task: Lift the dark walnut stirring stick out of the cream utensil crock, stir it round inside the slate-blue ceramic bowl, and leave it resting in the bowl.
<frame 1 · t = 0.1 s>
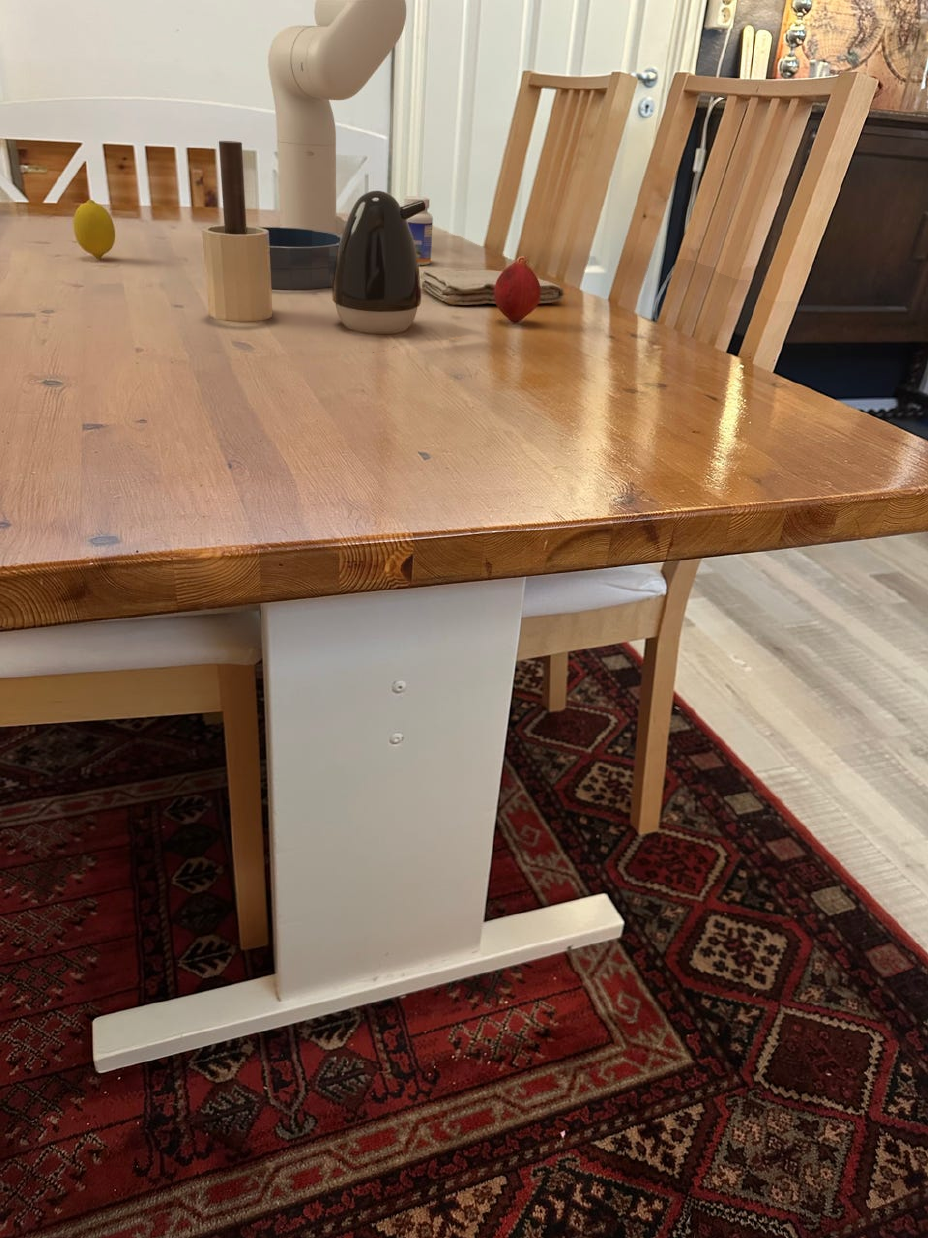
pill bottle: (414, 263, 147), on the table
washcloth: (488, 298, 127), on the table
pump dispenser: (377, 334, 106), on the table
bowl: (284, 282, 127), on the table
crock: (241, 320, 106), on the table
stick: (240, 313, 106), point 1 cm above the table, touching crock
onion: (514, 324, 115), on the table
lemon: (98, 260, 132), on the table
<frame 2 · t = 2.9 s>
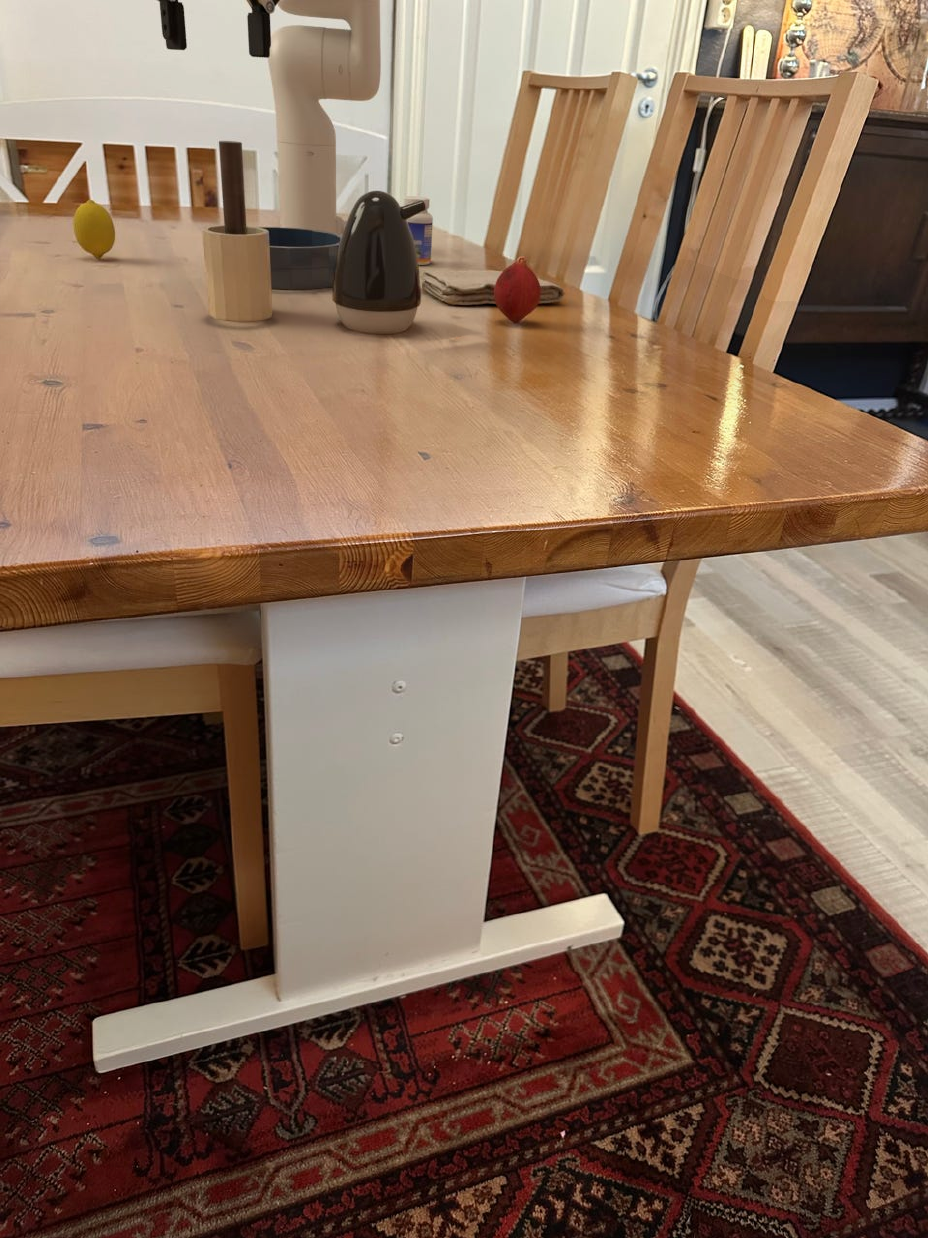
hand: (219, 53, 94), 27 cm above the table, tool pointing down, fingers open, 9 cm apart
nothing on the table moved.
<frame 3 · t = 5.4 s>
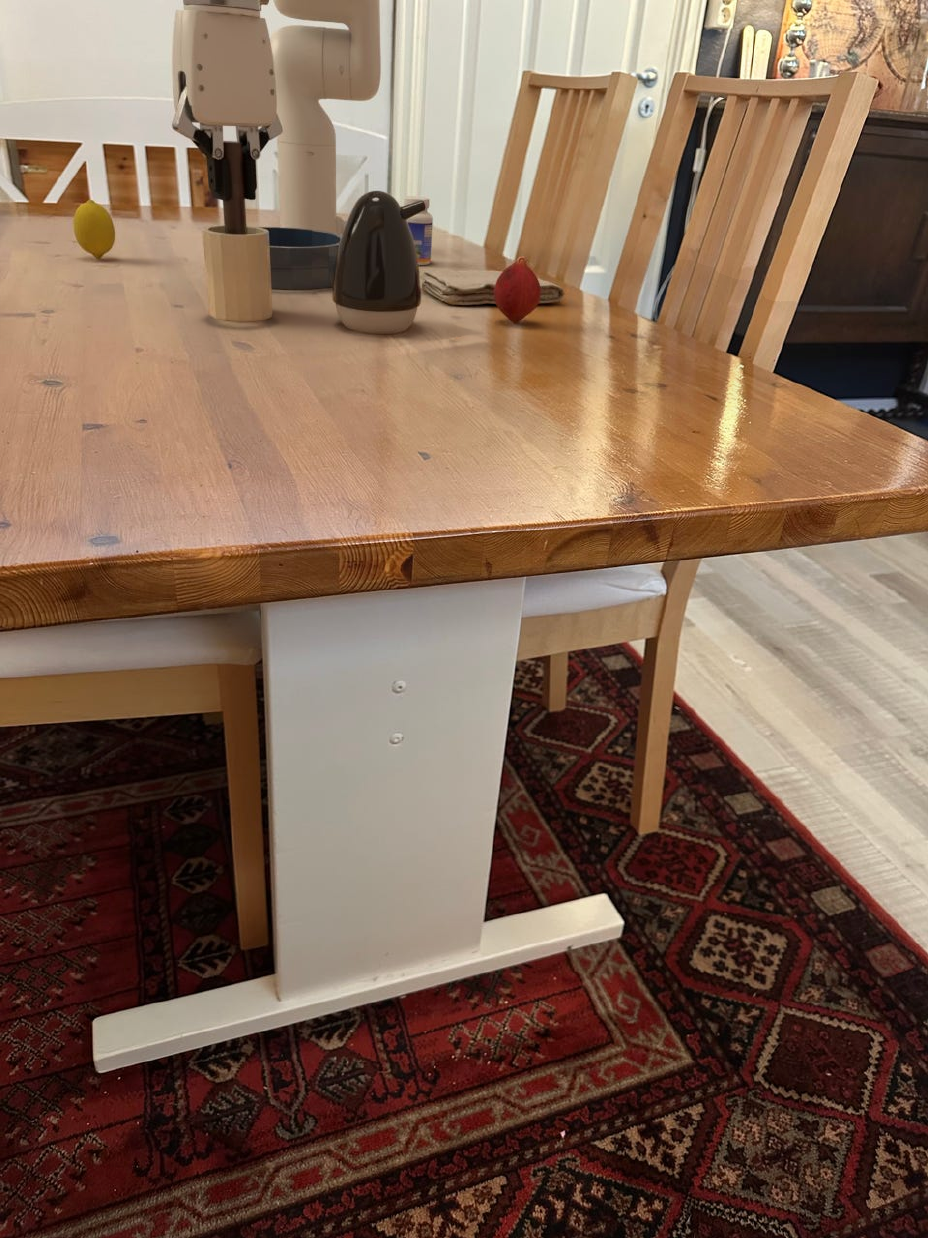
hand: (233, 196, 99), 13 cm above the table, tool pointing down, fingers closed on stick, 2 cm apart
stick: (240, 313, 106), point 1 cm above the table, touching crock, gripper
everything else where it was.
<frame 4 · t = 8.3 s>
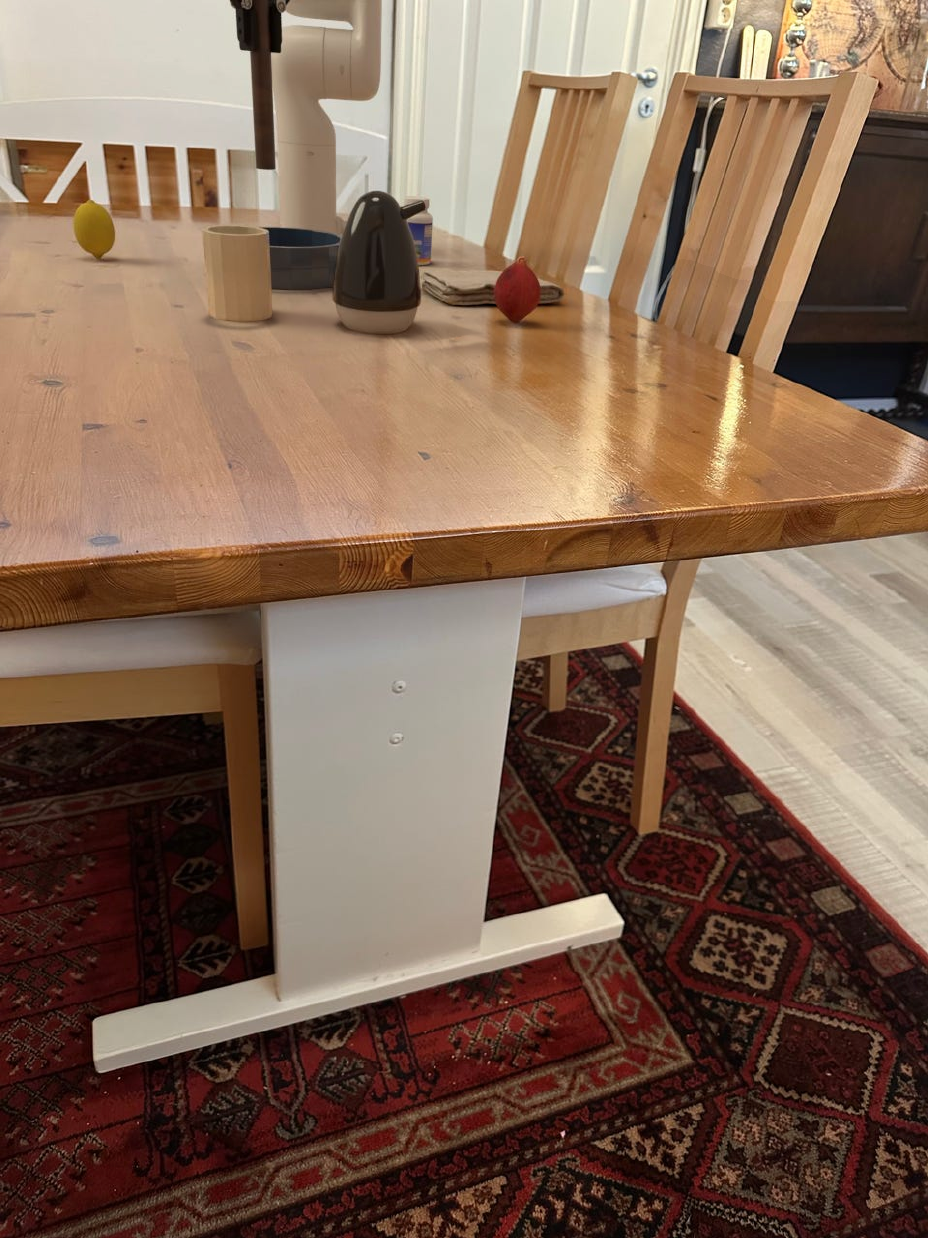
hand: (260, 49, 105), 28 cm above the table, tool pointing down, fingers closed on stick, 2 cm apart
stick: (265, 168, 112), point 15 cm above the table, touching gripper
everything else where it was.
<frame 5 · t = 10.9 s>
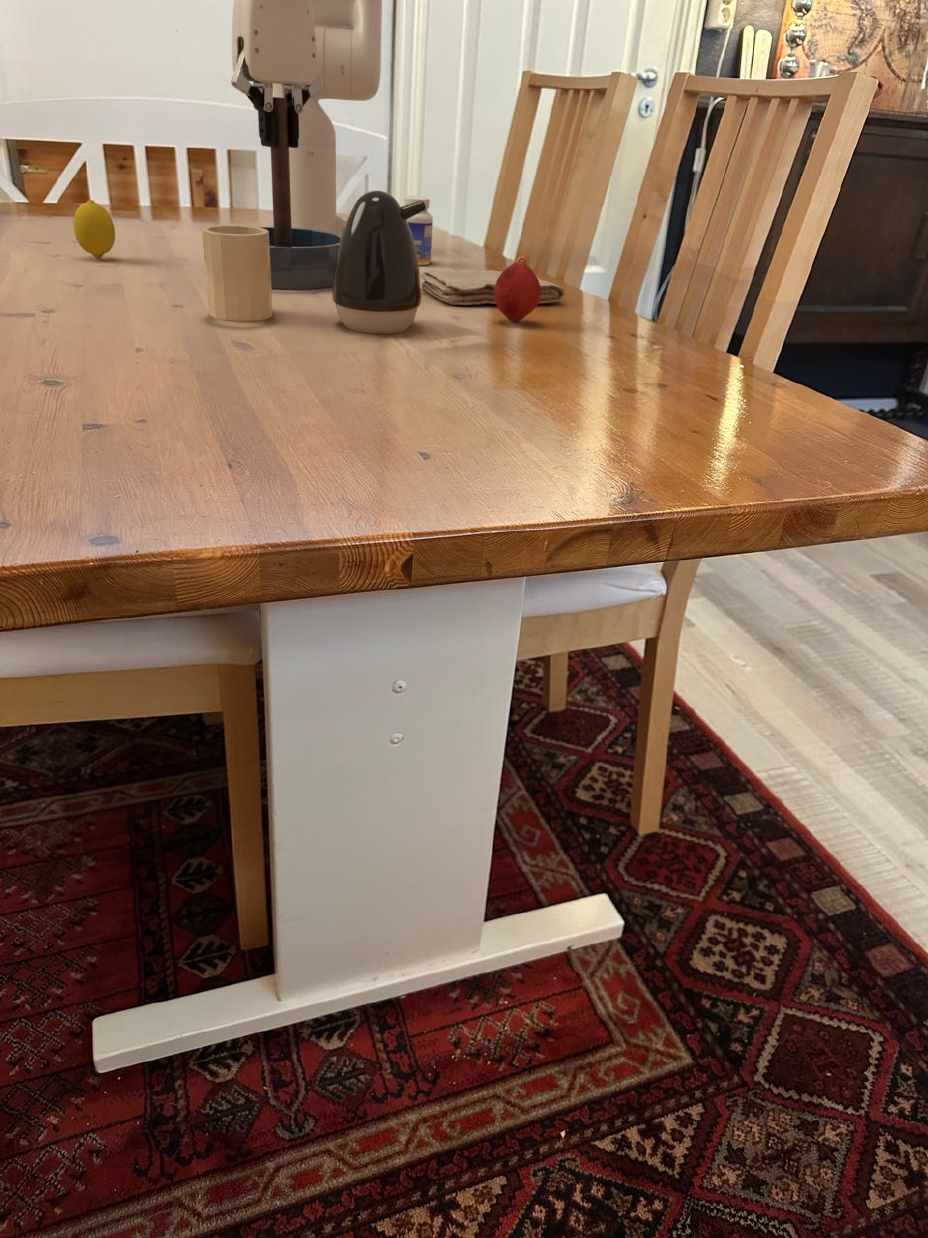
hand: (279, 145, 118), 17 cm above the table, tool pointing down, fingers closed on stick, 2 cm apart
stick: (283, 247, 124), point 5 cm above the table, touching gripper
everything else where it was.
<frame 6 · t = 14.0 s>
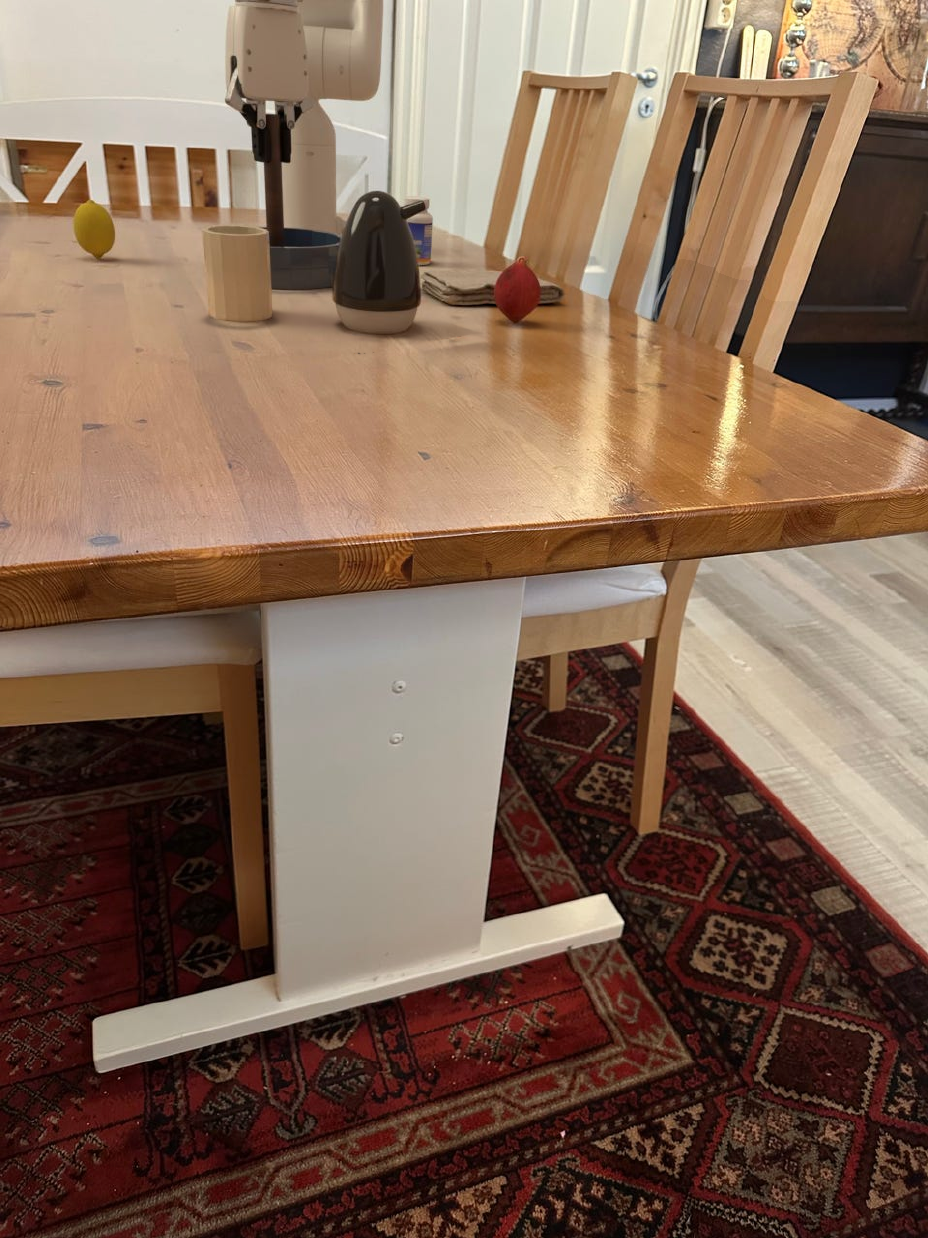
hand: (272, 160, 120), 15 cm above the table, tool pointing down, fingers closed on stick, 2 cm apart
stick: (276, 259, 127), point 3 cm above the table, touching gripper
everything else where it was.
when the fingers open (13 cm above the table, at t = 16.2 s): stick stays where it is, resting on bowl.
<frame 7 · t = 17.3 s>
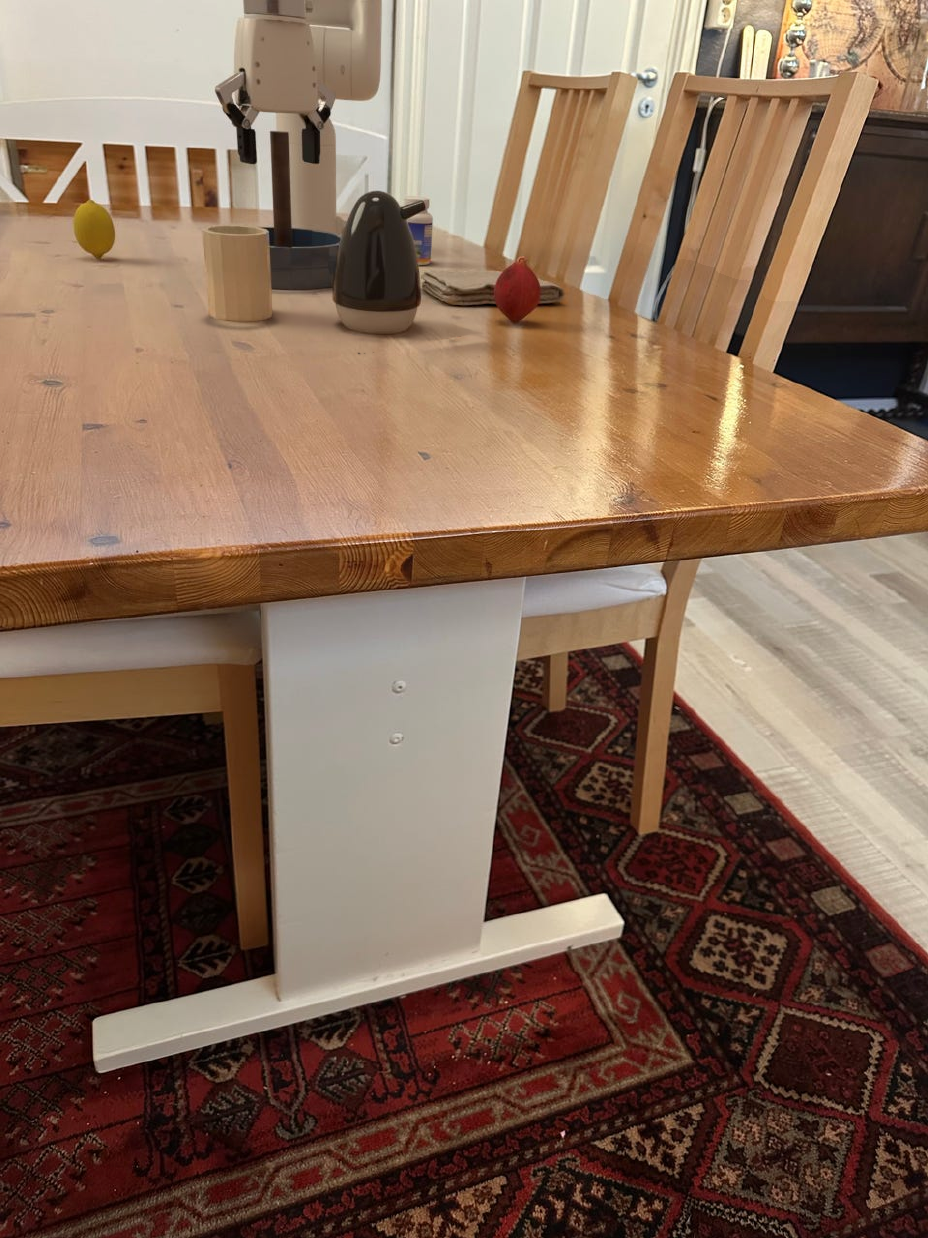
hand: (280, 162, 119), 15 cm above the table, tool pointing down, fingers open, 9 cm apart
stick: (284, 276, 126), point 1 cm above the table, touching bowl
everything else where it was.
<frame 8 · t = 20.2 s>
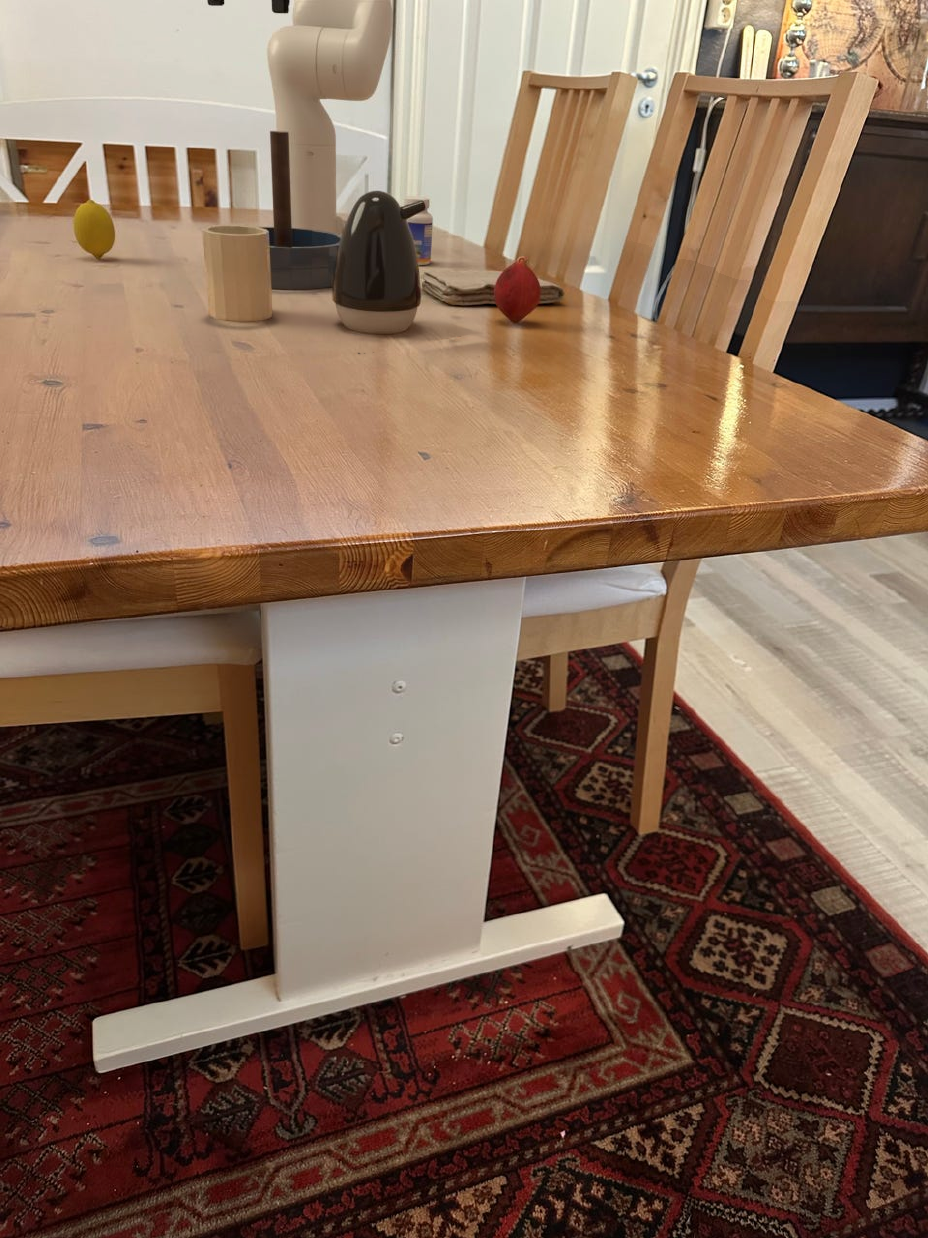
hand: (249, 9, 119), 32 cm above the table, tool pointing down, fingers open, 9 cm apart
nothing on the table moved.
at the end: stick inside the target area in the bowl (0.1 cm from its centre), point 0.8 cm above the bowl's base; stick moved 23.9 cm from its start; the gripper is holding nothing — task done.
